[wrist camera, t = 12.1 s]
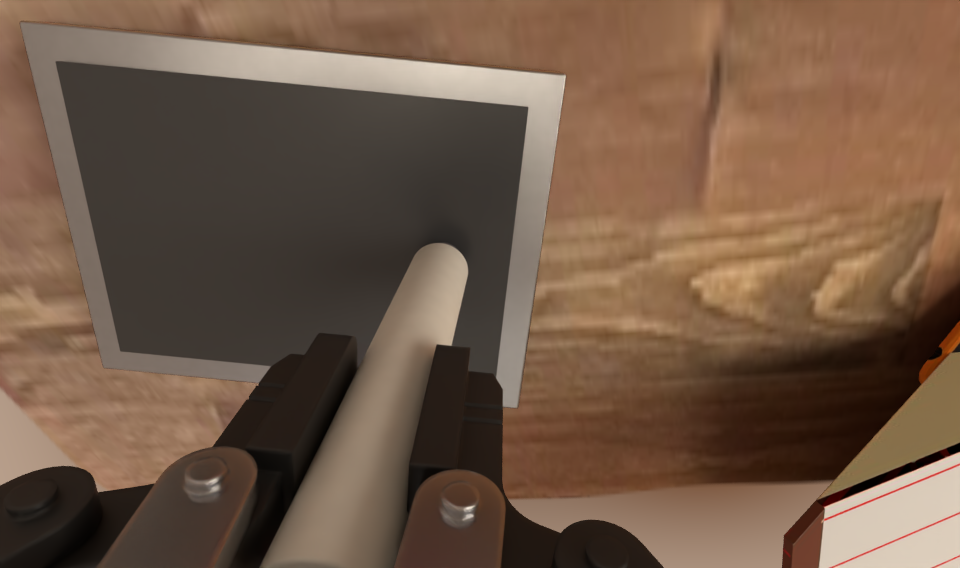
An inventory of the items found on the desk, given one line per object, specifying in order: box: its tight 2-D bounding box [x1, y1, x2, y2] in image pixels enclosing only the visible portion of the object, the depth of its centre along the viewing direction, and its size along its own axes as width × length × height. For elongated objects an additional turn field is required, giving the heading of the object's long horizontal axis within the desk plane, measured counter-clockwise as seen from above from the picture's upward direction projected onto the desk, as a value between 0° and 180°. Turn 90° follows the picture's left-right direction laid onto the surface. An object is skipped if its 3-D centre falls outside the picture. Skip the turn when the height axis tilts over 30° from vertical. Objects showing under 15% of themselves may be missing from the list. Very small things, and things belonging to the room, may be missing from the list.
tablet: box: [20, 21, 566, 408], centre depth 18 cm, size 16×12×1 cm
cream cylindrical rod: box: [259, 242, 468, 568], centre depth 12 cm, size 2×2×12 cm
